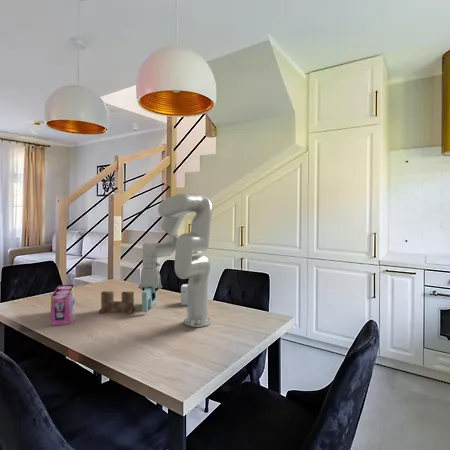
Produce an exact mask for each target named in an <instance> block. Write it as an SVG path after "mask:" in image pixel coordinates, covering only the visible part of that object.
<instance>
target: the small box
mask: <svg viewBox="0 0 450 450" xmlns="http://www.w3.org/2000/svg"><path fill="white" fill-rule="evenodd" d="M187 287H188V283H185V284H184V283H183V284H182V285H181V286H180V305H181V306H187Z"/></svg>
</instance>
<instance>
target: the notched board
mask: <svg viewBox="0 0 450 450" xmlns="http://www.w3.org/2000/svg"><path fill="white" fill-rule="evenodd" d="M156 288H157V287H156ZM152 293H153V287H148V288H146V289H145V290H144V291H143V290H142V291H141V311H142V313H148V311H149V308H152V307H153V306H154V305H156V303H157V301H158V290H157V291H156V298H155V299H154V300H153V301H152Z"/></svg>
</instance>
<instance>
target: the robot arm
mask: <svg viewBox="0 0 450 450" xmlns="http://www.w3.org/2000/svg"><path fill="white" fill-rule="evenodd" d="M211 202H212V201H210V199H209V198H208V197H207V196H205V195H202V194H199V193H198V194H196V193H177V194H175V195H172V196H170V197H167V198H165V199H163V200H162V201H160V203H159V204H158V208H157V212H158V215H159V216H160V217H162V218H163V220H162V222H161V224H160V227H161V229H162V231H164V232H165V233H166V234H169V236H168V239H167V241H166V242H157V243H156V242H144V243H142V267H141V269H140V277H139V282H140V283H139V284H138V286H137V287H138V289H140V290H142V292H143V291H144V290H145V289H146V288H148V287H153V293H152V301H153V300H154V299H155V298H156V291H157V292H158V290H161V289H162V288H163V285H162V283H161V273H160V268H159V267H160V266H161V264H160V263H158V258H160V259H161V258H165V257H171V256H172V255H173V254H174V253H175V254H174V272H175V275H176V277H178V278H179V279H182V280H185V279H188V281H187V284H188V287H187V305H186V306H187V308H186V311H187V315H186V316H187V317H186V318H184V319H183V323H184V325H186V326H187V327H191V328H202V327H206V326H209V325H210V324H211V323H212V320H211V318H210V317H209V315H208V314H209V312H208V310H209V307H208V305H209V303H208V302H209V296H208V295H209V293H208V292H209V275H210V270H211V262H210V260H209V258H208V257H207V256H205V255H202V254H200V253H204V252H206V251H208V249H209V246H210V245H209V244H210V234H211V233H210V232H211V220H212V215H213V205H212V203H211ZM186 213H195V215H194V217H193V218H192V221H191V228H190V232H187V233H181V234H180V235H179V233H178V230H179V228H180V226H181V224H182V222H183V219H184V217H185V215H186ZM194 254H196V255H194ZM156 287H157V288H156Z"/></svg>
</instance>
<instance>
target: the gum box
mask: <svg viewBox="0 0 450 450" xmlns="http://www.w3.org/2000/svg"><path fill="white" fill-rule="evenodd" d="M75 286H76V285H75V284H61V285H58V286H57V287H56V288H55V290H54V292H53V293H52V294H50V326H51V327H54V326H64V325H70V322H71V320H72V319H73V315H74V313H75V311H76V299H75V298H76V297H75V296H76V295H75V293H76V291H75V289H76V288H75Z"/></svg>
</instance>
